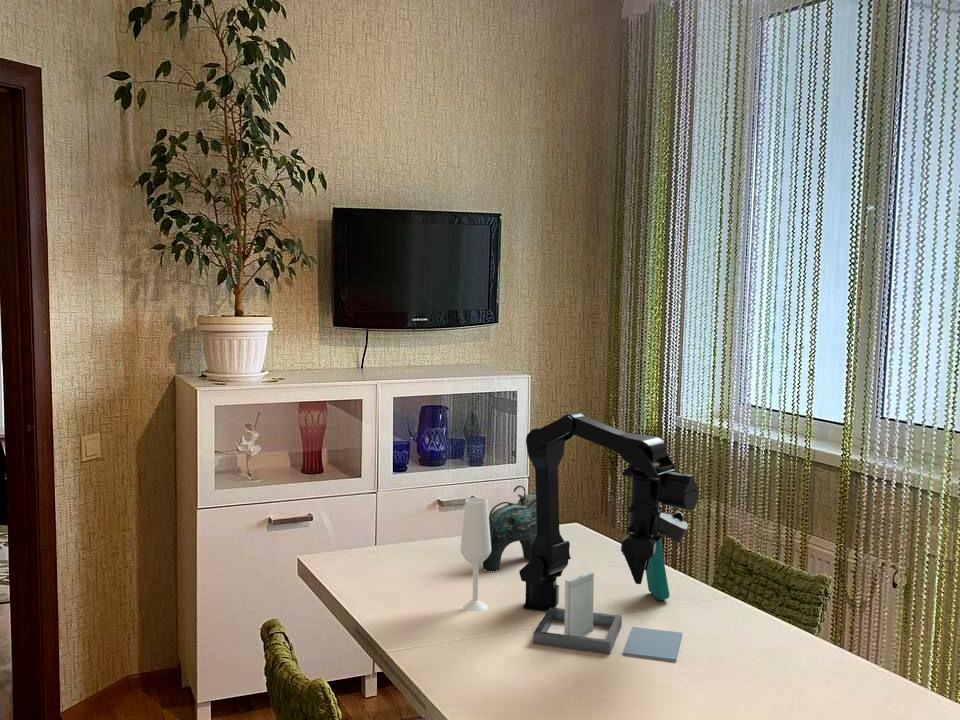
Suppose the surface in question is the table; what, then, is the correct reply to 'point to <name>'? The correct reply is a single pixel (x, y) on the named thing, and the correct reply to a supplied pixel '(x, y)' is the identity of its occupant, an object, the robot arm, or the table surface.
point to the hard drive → (579, 604)
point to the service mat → (653, 644)
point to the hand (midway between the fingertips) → (641, 576)
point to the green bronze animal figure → (512, 528)
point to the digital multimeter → (657, 574)
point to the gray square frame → (576, 641)
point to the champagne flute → (476, 543)
